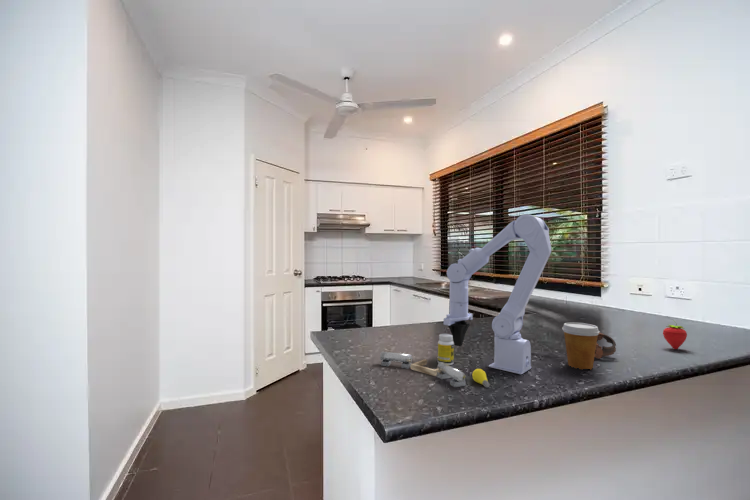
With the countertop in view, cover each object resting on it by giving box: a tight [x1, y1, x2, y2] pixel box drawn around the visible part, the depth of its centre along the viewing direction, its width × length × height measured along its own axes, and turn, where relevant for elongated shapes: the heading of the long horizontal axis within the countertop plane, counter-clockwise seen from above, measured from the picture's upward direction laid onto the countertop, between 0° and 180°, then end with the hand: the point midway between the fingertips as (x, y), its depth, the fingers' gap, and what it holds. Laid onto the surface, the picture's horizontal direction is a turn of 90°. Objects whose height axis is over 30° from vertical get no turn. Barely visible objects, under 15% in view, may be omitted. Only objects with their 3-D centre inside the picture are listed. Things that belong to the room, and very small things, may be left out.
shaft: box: [436, 362, 467, 388], centre depth 91 cm, size 9×3×4 cm, turn 22°
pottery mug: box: [594, 332, 617, 360], centre depth 116 cm, size 12×10×8 cm
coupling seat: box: [410, 358, 441, 377], centre depth 100 cm, size 8×7×1 cm
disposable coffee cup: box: [561, 322, 601, 370], centre depth 104 cm, size 10×10×12 cm
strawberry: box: [662, 320, 688, 350], centre depth 125 cm, size 6×8×10 cm
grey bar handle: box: [379, 351, 413, 370], centre depth 104 cm, size 9×3×4 cm, turn 72°
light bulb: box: [472, 368, 491, 388], centre depth 90 cm, size 3×6×4 cm, turn 14°
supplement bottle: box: [437, 333, 455, 366], centre depth 107 cm, size 5×5×8 cm
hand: (458, 345), depth 112 cm, fingers closed
